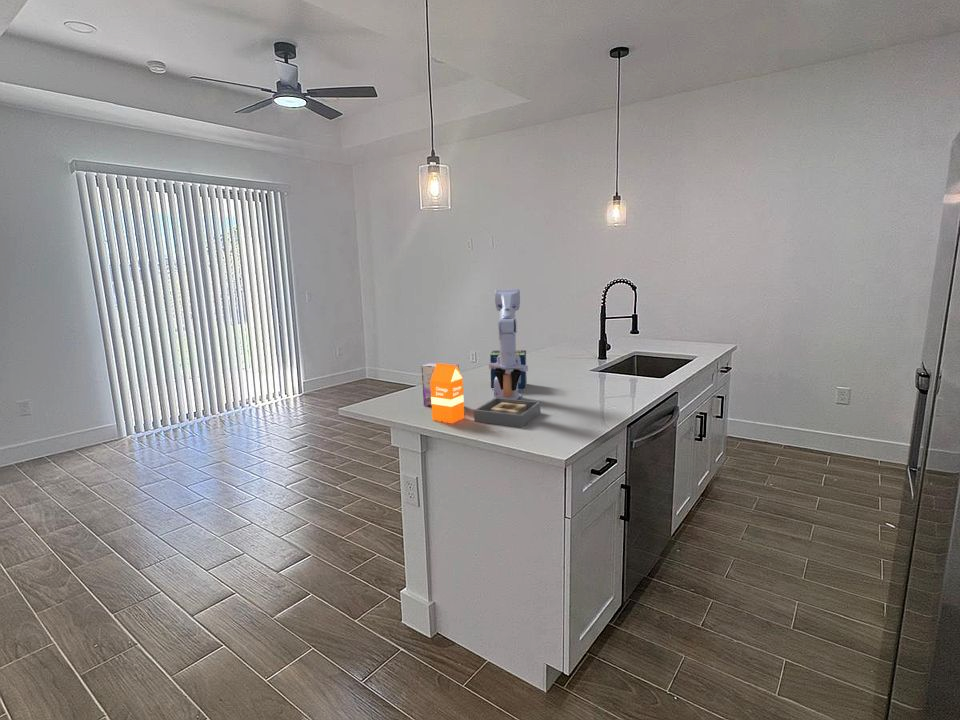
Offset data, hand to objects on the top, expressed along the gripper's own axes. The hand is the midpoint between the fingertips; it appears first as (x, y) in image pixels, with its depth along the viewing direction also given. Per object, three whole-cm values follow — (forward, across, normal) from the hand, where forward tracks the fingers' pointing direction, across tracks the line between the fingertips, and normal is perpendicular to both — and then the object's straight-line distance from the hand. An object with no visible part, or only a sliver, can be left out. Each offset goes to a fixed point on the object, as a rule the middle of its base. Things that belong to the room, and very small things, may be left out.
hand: (508, 389), depth 186 cm
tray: (+9, +1, -3) cm, 10 cm away
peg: (+2, 0, 0) cm, 3 cm away
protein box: (+10, -17, +39) cm, 44 cm away
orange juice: (+10, -18, -13) cm, 24 cm away
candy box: (+10, -29, +1) cm, 31 cm away
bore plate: (+9, 0, 0) cm, 9 cm away
